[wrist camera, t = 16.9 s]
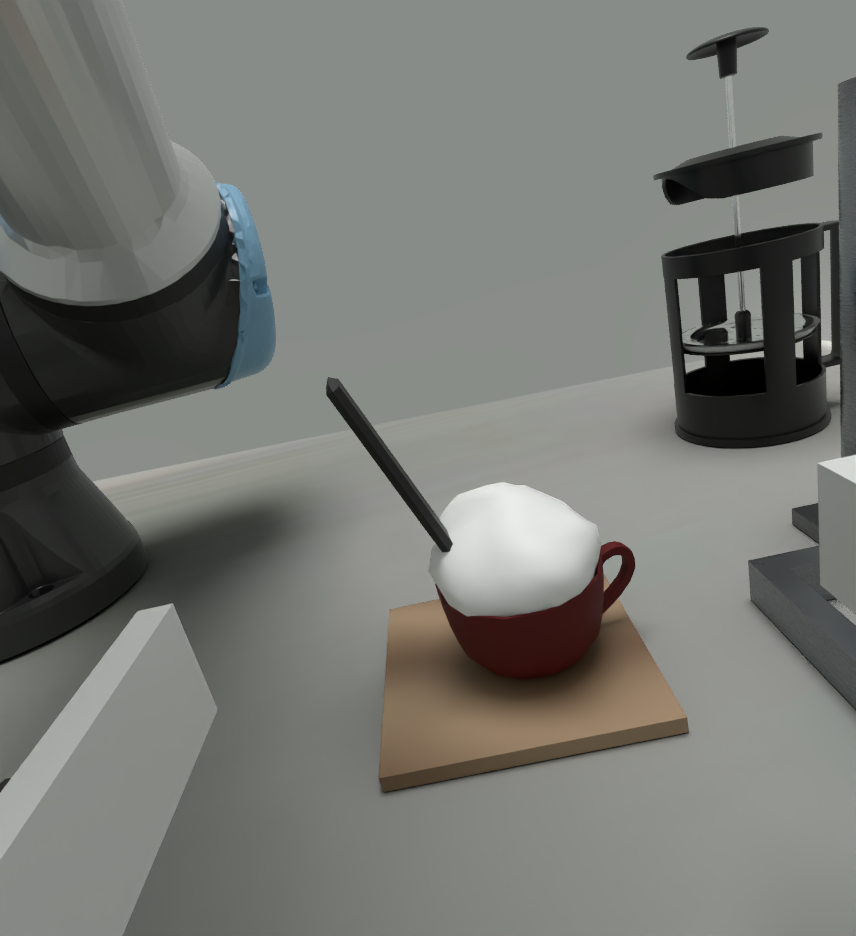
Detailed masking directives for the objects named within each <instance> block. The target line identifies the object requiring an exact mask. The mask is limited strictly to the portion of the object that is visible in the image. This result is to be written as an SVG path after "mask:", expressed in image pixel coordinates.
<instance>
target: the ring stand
mask: <svg viewBox="0 0 856 936" xmlns="http://www.w3.org/2000/svg"><path fill="white" fill-rule="evenodd" d="M838 151H839V152H838V160H839V161H838V162H839V163H838V165H839V166H838V167H839V282H840V397H841V458H843V457H847V456H852V455H856V77H855V78H852V79H850V80H847V81H844V82H841V83H840V84H838ZM792 524H793V525H795V526H796V527H797V528H799V529H800V530H801V531H803V532H804V533H806V534H807V535H808V536H810V537H811V538H812V539H814V540H815V541H816V542H818V543H819V509H818V503H817V504H812V505H807V506H803V507H798V508H793V509H792ZM748 565H749V580H750V595H751V600H752V601H753V602H754V603H755V604H756V605H757V606H758V608H759V609H760V610H761V611H762V612H763V613H764V614H765V615H766V616H767V617H768V618H769V619H770V620H771V621H772V622H773V623H774V624H775V625H776V626H777V627H778V628H779V630H780V631H781V632H782V633H783V634H784V635H785V636H786V637H787V638H788V639H789V640H790V641H791V642H792V643H793V644H794V645H795V646H796V647H797V648H798V649H799V650H800V652H801V653H802V654H803V655H804V656H805V657H806V658H807V659H808V660H809V661H810V662H811V663H812V664H813V665H814V666H815V667H816V668H817V669H818V670H819V671H820V672H821V673H822V675H823V676H824V677H825V678H826V679H827V680H828V681H829V682H830V683H831V684H832V685H833V686H834V687H835V688H836V689H837V690H838V691H839V692H840V693H841V694H842V695H843V697H844V698H845V699H846V700H847V701H848V702H849V703H850V704H851V705H852V706H853V707H854V708H855V709H856V625H854V624H853V623H852V622H851V621H850V620H849V619H847V618H846V617H845V616H844V615H843V614H842V613H840V612H839V611H838V610H837V609H836V608H835V607H833V606H832V605H831V604H830V603H829V602H828V601H826V600H830V599H835V598H836V597H834V596H833V595H832V594H831V593H830V592H828V591H827V590H826V589H825V588H823V587H822V586H821V585H820V554H819V546H816V547H811V548H806V549H801V550H797V551H792V552H787V553H782V554H778V555H773V556H768V557H763V558H759V559H754V560H749V561H748Z"/></svg>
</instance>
